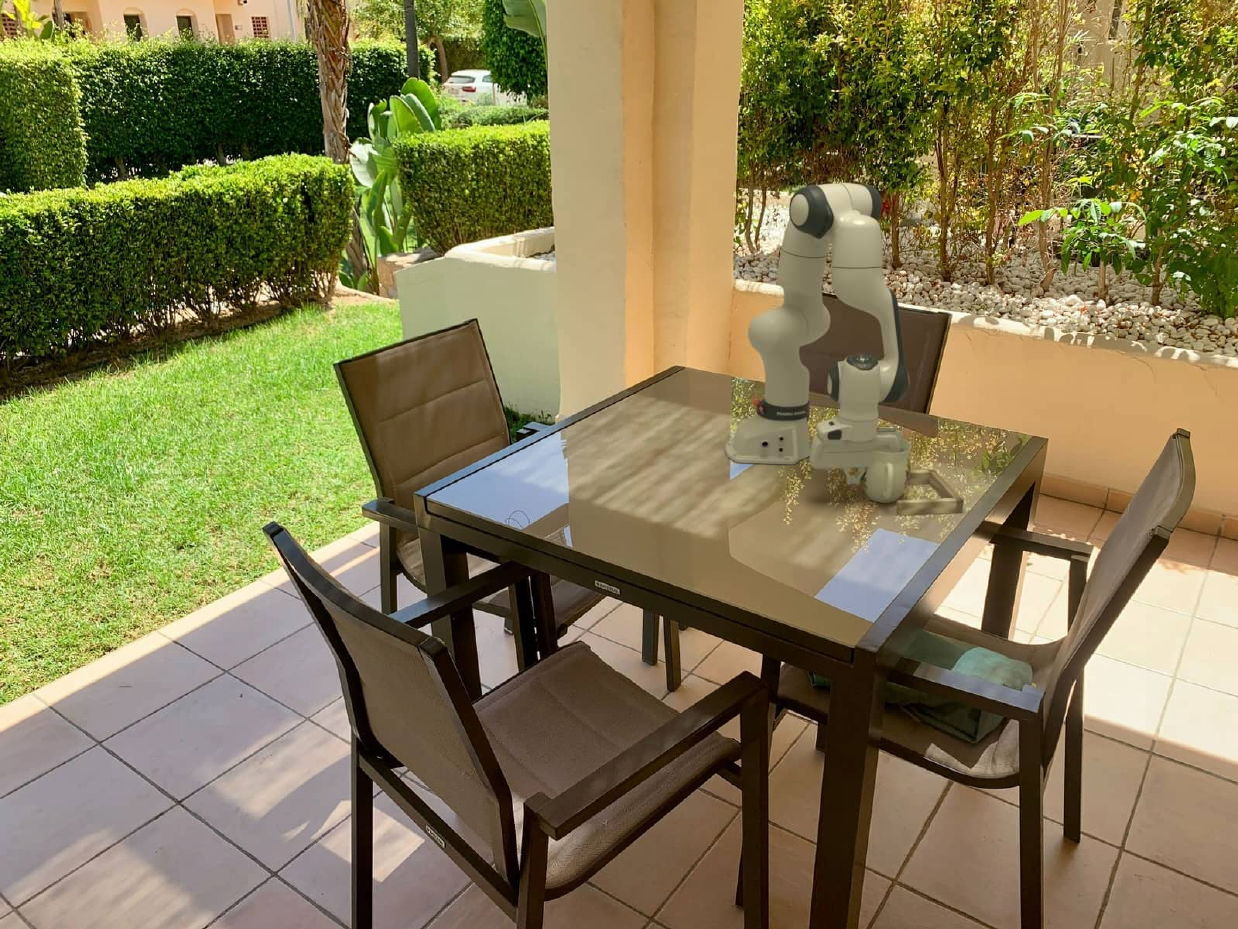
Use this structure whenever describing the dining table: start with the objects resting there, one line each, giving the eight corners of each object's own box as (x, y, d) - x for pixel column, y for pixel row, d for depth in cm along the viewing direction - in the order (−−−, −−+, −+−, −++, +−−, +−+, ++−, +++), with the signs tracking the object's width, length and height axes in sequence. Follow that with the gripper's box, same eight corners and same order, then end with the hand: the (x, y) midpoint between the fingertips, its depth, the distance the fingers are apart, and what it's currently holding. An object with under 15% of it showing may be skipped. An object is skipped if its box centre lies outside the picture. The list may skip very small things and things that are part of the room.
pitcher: (861, 513, 208) (866, 457, 203) (856, 482, 224) (860, 429, 219) (912, 516, 206) (918, 459, 201) (903, 484, 223) (908, 430, 217)
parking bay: (898, 515, 207) (899, 503, 206) (873, 483, 224) (874, 472, 223) (962, 512, 208) (963, 500, 206) (933, 481, 224) (934, 469, 223)
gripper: (898, 421, 211) (893, 477, 217) (809, 424, 211) (806, 480, 216) (907, 430, 206) (901, 487, 211) (815, 433, 205) (812, 491, 210)
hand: (852, 484), depth 213 cm, fingers closed
